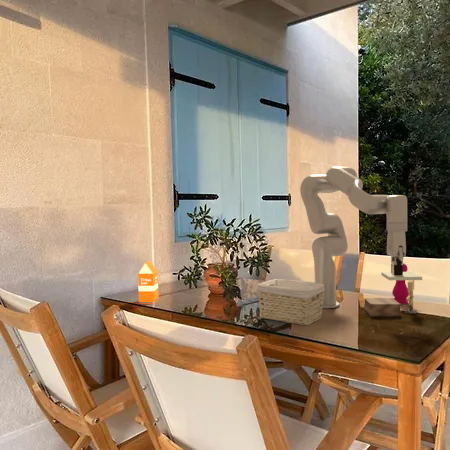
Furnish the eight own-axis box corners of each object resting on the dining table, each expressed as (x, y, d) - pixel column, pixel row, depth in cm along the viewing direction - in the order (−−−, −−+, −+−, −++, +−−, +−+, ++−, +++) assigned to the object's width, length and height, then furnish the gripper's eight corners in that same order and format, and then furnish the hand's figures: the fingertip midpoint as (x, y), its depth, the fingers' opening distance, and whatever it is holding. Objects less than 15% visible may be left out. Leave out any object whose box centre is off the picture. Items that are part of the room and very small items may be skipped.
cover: (389, 280, 174) (389, 263, 174) (381, 275, 186) (381, 259, 186) (422, 280, 173) (422, 263, 173) (412, 274, 185) (412, 259, 185)
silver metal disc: (407, 313, 194) (407, 311, 193) (404, 311, 198) (404, 309, 198) (418, 313, 193) (418, 311, 193) (414, 311, 197) (414, 309, 197)
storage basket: (326, 318, 190) (326, 282, 189) (308, 327, 177) (308, 289, 176) (276, 311, 204) (275, 277, 203) (256, 319, 191) (255, 283, 190)
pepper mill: (410, 304, 210) (410, 260, 209) (393, 304, 212) (393, 260, 210) (407, 300, 217) (407, 258, 216) (391, 300, 219) (391, 258, 217)
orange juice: (158, 299, 233) (157, 260, 232) (154, 303, 225) (153, 262, 223) (143, 299, 234) (142, 260, 233) (138, 303, 225) (137, 262, 224)
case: (370, 316, 191) (370, 304, 191) (363, 309, 203) (363, 297, 203) (401, 316, 190) (401, 304, 190) (392, 309, 202) (392, 297, 202)
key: (411, 314, 188) (411, 283, 188) (406, 313, 189) (406, 283, 189) (414, 307, 199) (414, 279, 198) (409, 307, 199) (409, 278, 199)
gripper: (381, 226, 187) (381, 271, 188) (392, 228, 171) (392, 278, 172) (400, 225, 186) (400, 271, 187) (413, 228, 170) (413, 278, 171)
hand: (396, 273), depth 180 cm, fingers closed on cover, 3 cm apart
